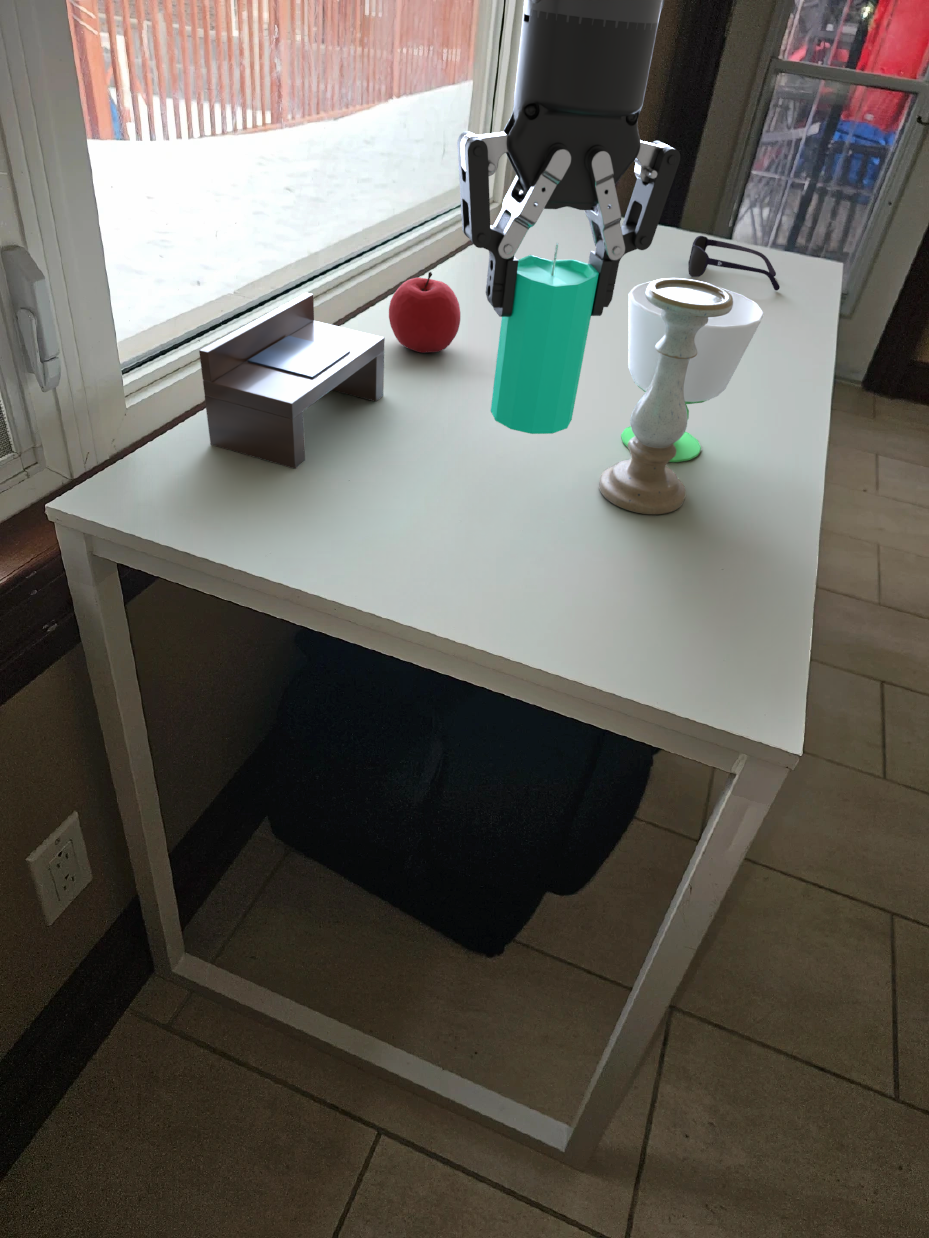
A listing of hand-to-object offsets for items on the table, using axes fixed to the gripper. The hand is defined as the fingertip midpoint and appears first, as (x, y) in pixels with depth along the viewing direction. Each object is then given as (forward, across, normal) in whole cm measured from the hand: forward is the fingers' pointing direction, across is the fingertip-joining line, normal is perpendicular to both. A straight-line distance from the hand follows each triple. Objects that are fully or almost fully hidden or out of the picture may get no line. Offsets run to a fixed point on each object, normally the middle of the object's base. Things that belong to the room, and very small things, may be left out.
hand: (546, 311), depth 57 cm
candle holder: (+23, -19, -13) cm, 33 cm away
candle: (+8, 0, 0) cm, 8 cm away
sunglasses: (+23, -66, -80) cm, 107 cm away
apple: (+23, -4, -52) cm, 57 cm away
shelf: (+23, +14, -33) cm, 43 cm away
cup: (+23, -26, -23) cm, 42 cm away
